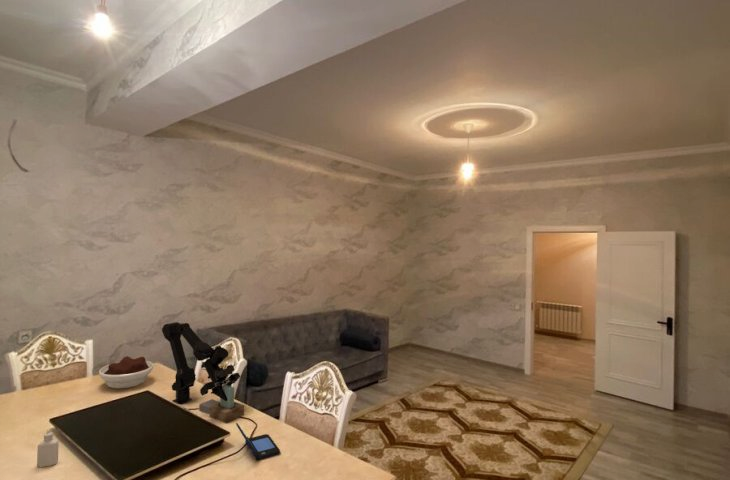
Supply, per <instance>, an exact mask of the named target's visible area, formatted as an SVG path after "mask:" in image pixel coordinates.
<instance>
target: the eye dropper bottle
mask: <svg viewBox="0 0 730 480" xmlns="http://www.w3.org/2000/svg"><path fill="white" fill-rule="evenodd" d="M59 447H60V446H59V440H58V439H55V438H54V432H53V431H51V429H50V428H49V429H47V432H46V433H45V434H43V440H42V441H40V442H39V443H38V444H37V449H36V451H37V454H36V455H37V457H36V467H38V466H47V467H51V465H52V466H54V465H55V466H56V464H57V463H58V462H59Z"/></svg>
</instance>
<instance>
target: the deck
mask: <svg viewBox="0 0 730 480" xmlns="http://www.w3.org/2000/svg"><path fill="white" fill-rule="evenodd" d="M218 403H220V400H216V399H209V400H207V401H204V402H202V403H200V404H199V405H198V406H199V407H198V408H199V412H200V413H201V412H202V413H204V414H207V415H209V413H210V407H211V406H213V405H215V404H218Z"/></svg>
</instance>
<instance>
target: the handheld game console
mask: <svg viewBox="0 0 730 480" xmlns="http://www.w3.org/2000/svg"><path fill="white" fill-rule="evenodd" d="M235 425H236V428H237V429H238V430H239V432H240V433H241V435H242V437H243V438H244V440H245V443H246V445H247V447H248V448H249V449H250V450H251V452H252V455H253V456H254V458H255V460H256V461H260V460H263V459H266V458H270V457H274V456H277V455H279V454H280V453H281V449H280V448H279V446H278V445H277V444H276V443H275V440H273V438H272V437H271V436H270V434H267V433H265V434H261V435H257V436H252V437H248V436H247V435H246V434H245V433H244V431H243V429H242V428H241V426H240V424H238V422H236V423H235Z"/></svg>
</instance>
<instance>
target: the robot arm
mask: <svg viewBox="0 0 730 480" xmlns="http://www.w3.org/2000/svg"><path fill="white" fill-rule="evenodd" d="M161 332H162V335H163V337H164V338H165V340H167V341H168V342H169V345H170V348H171V351H172V355H173V356H172V357H173V359H174V364H175V367H176V373H175V376H174V377H175V381H174V382H173V383H172V384H171V389H172V391H174V392H175V399H173V400H172V402H174V403H176V404H178V405H182V404H185V403H188V402H190V401H192V400H193V398H191V392H190V391H191V387H194V386H195V381H196V380H197V378H196V372H195V369H194V367H190V366H189V363H188V361H187V357H186V354H185V350H184V346H183V343H182V340H181V338H182V337H183V338H184V339H185V341H186V342H187V343H188V345H189V346H190V347H191V348H192V354H193V355H194V357H195V359H196V360H197V361H199V362H200V361H202V362H201V365H200V368H201V369H205V371H206V372H207V375H208V376H207V379H208V380H209V379H210V382H209V381H208V382H205V384H203V385H202V387H200V389H199V393H200V395H201V396H205V395H206V394H207V395H208V393H209V390H211V392H210V394H213V395H214V396H217V397H219V398H222V399H223V400H225V401H227V400H228V399H227V397H226V395H225V393H224V391H223V389H222V386H223V385H228V386H231V387H233V386H232V385H233V384H235V383H236V382H237V381H238V380H239V379H240V378H241V377H242V376H241V375H240V373H239V372H234V371H235V367H234V366H233V364H229V365H227V366H226V368H223V367H220V365H221V364H222V363H223V362H224V361H225V360H226V359H227V357H228V356H229V351H228V349H226V348H224V347H222V346H221V345H217V346H216V347H215V348H213V347H212V346H211V345H210V344H209V343H207V342H204V341H202V340H201V338H200V337H199V336H198V335H197V334H196V332H195V331H194V330H193V329H192V328H191V326H190V323H188V322H181V323H180V322H179V321H174V322H170V323H164V324H163V327H162V328H161ZM233 372H234V373H233Z"/></svg>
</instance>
